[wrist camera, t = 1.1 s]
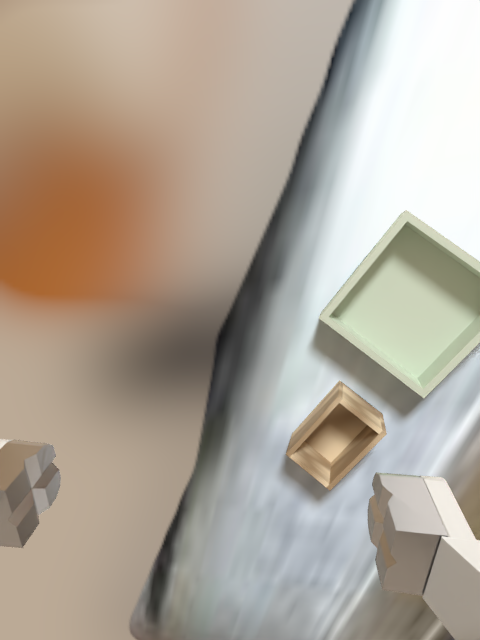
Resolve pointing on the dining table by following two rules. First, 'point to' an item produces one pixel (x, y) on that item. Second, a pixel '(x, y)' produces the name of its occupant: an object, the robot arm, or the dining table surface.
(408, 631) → the dining table surface
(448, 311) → the sage crate
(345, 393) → the pine crate
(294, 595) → the dining table surface
